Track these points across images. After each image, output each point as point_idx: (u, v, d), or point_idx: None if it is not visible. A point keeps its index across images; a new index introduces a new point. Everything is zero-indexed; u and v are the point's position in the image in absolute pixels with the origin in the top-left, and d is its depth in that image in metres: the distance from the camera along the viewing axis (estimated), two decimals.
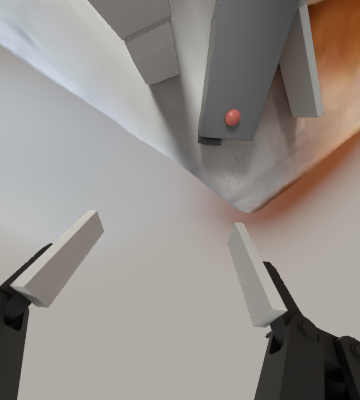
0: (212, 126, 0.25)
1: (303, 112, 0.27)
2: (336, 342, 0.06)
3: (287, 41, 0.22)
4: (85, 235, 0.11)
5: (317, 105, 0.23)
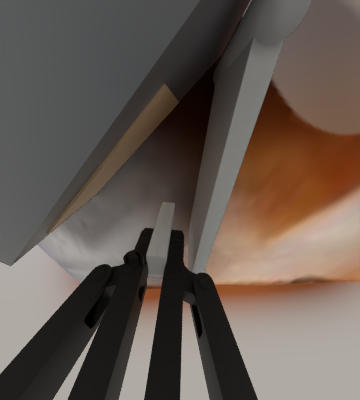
0: None
1: (189, 251, 0.15)
2: (192, 283, 0.08)
3: (214, 126, 0.08)
4: None
5: None
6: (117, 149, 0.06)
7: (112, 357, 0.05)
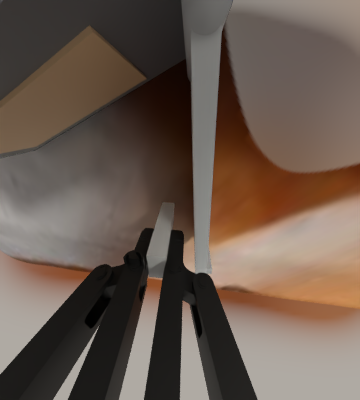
0: None
1: None
2: (192, 283, 0.08)
3: None
4: None
5: None
6: (30, 85, 0.05)
7: (112, 357, 0.05)
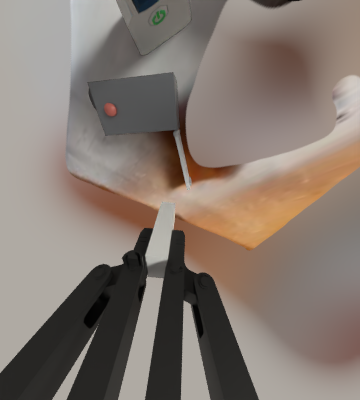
0: (99, 92, 0.28)
1: None
2: (193, 283, 0.08)
3: None
4: None
5: (186, 184, 0.41)
6: None
7: (111, 356, 0.05)
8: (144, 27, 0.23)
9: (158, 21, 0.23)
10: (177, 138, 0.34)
